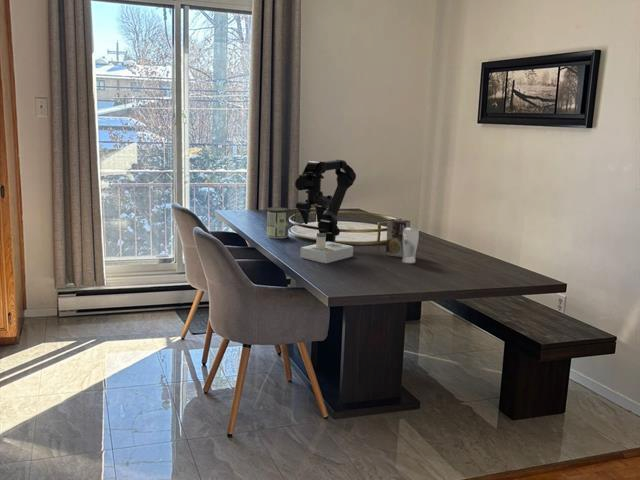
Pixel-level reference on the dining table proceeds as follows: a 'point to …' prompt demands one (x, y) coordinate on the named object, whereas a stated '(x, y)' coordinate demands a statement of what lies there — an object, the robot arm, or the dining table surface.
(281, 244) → the dining table surface
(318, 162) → the robot arm
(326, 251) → the port box
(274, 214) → the coffee can
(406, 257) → the beer glass
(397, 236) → the coffee box
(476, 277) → the dining table surface
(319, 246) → the plug
